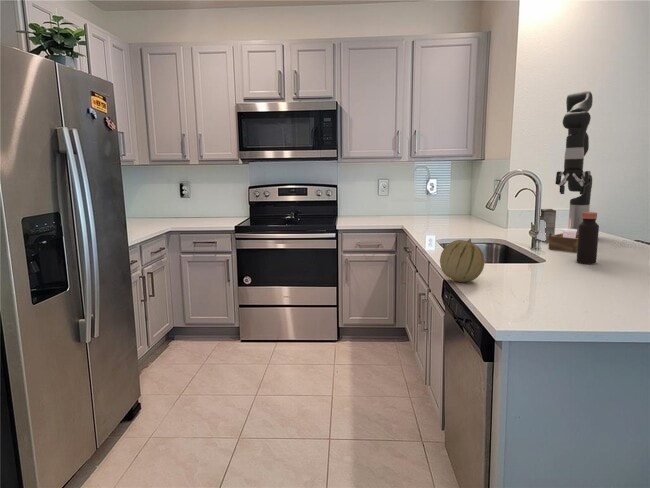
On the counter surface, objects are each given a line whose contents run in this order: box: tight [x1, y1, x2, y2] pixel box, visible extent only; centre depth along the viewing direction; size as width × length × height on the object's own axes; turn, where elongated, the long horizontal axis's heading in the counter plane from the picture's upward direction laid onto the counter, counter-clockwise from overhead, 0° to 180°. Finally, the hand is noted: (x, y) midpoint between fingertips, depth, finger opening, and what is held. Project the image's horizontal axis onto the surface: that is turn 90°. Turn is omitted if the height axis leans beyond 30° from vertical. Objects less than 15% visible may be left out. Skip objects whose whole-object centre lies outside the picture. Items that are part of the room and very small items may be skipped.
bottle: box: [575, 211, 600, 265], centre depth 171 cm, size 7×7×20 cm
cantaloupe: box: [439, 238, 485, 283], centre depth 149 cm, size 15×15×15 cm
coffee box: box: [540, 208, 557, 243], centre depth 224 cm, size 9×6×16 cm
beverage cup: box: [561, 219, 577, 238], centre depth 200 cm, size 6×6×14 cm
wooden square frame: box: [548, 232, 578, 253], centre depth 201 cm, size 12×12×6 cm
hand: (571, 194), depth 197 cm, fingers open, 8 cm apart
